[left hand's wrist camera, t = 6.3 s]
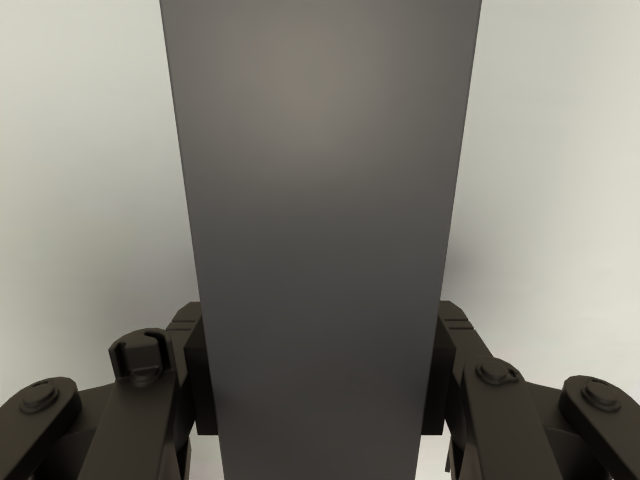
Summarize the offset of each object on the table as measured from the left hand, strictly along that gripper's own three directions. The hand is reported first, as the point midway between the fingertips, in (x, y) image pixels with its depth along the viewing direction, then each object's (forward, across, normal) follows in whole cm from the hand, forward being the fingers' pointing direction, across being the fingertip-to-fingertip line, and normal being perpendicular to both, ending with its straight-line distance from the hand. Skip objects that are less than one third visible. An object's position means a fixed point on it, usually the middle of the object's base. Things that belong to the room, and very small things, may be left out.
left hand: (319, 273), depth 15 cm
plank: (+1, 0, -28) cm, 28 cm away
